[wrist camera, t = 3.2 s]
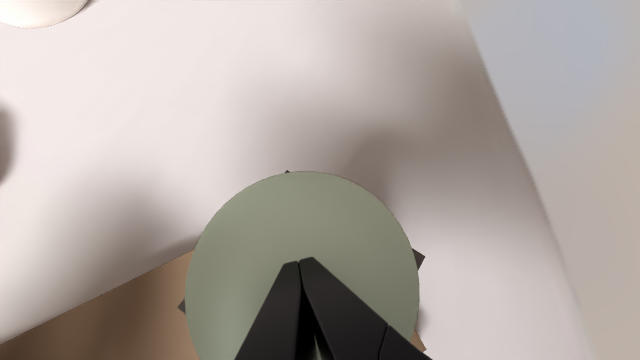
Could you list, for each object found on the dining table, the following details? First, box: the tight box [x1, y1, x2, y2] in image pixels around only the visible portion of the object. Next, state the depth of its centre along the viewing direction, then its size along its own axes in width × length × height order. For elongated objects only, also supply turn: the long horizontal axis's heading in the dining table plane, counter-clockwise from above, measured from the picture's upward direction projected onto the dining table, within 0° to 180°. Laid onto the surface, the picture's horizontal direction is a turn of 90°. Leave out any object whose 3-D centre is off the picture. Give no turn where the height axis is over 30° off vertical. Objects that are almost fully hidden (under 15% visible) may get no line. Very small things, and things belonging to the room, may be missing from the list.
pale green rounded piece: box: [185, 171, 419, 360], centre depth 12 cm, size 7×7×8 cm
